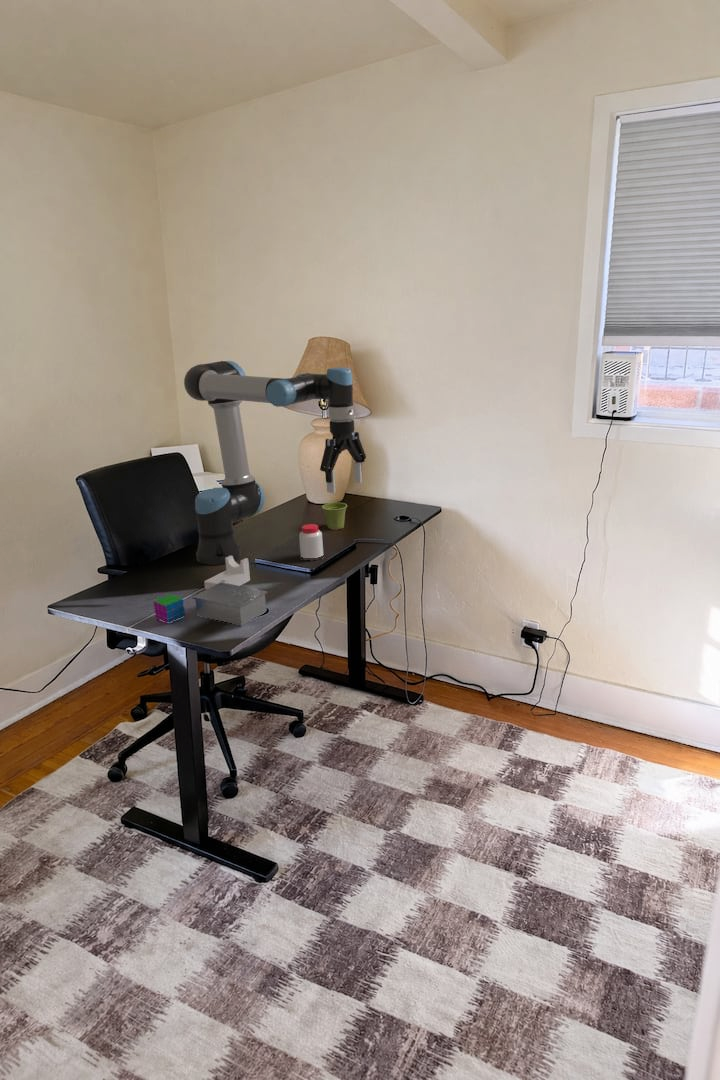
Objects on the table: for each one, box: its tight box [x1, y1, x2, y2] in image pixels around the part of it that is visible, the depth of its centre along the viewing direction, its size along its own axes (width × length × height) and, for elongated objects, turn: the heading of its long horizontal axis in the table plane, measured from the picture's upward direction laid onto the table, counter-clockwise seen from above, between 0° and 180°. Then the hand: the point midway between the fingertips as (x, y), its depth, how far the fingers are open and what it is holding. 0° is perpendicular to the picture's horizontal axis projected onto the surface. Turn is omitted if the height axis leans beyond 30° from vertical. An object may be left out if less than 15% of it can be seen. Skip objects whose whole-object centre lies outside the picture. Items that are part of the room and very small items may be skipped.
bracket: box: [204, 555, 251, 590], centre depth 226 cm, size 13×7×8 cm, turn 150°
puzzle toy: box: [153, 594, 186, 622], centre depth 205 cm, size 6×6×6 cm
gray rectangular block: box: [192, 582, 268, 627], centre depth 206 cm, size 17×12×6 cm
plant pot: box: [321, 502, 348, 531], centre depth 277 cm, size 9×9×9 cm
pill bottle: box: [298, 523, 324, 558], centre depth 246 cm, size 8×8×11 cm
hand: (344, 487), depth 229 cm, fingers open, 13 cm apart
